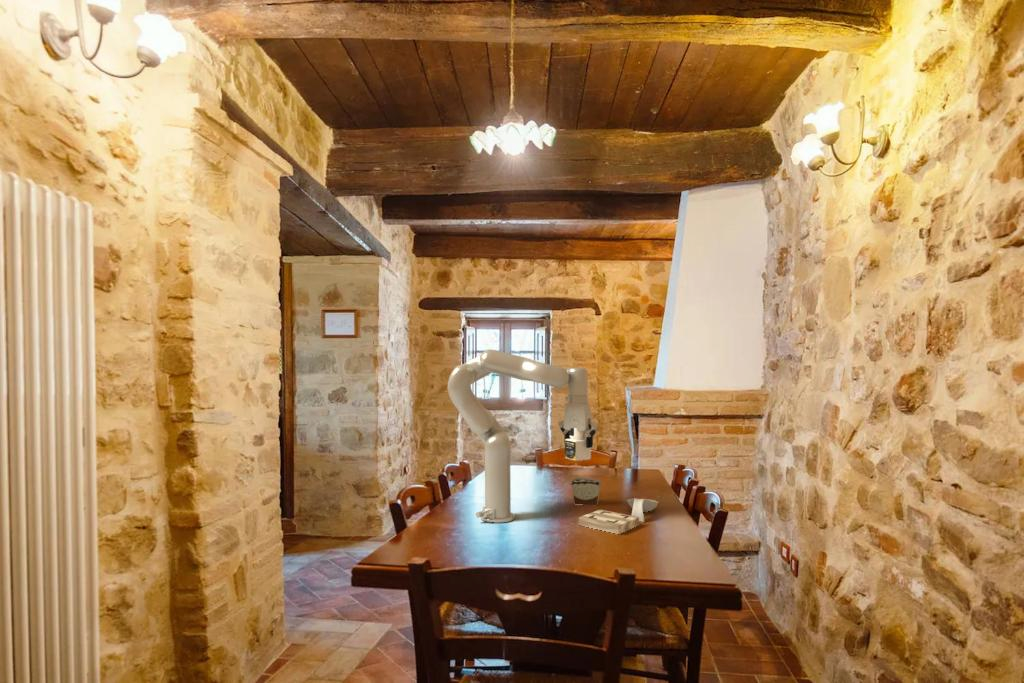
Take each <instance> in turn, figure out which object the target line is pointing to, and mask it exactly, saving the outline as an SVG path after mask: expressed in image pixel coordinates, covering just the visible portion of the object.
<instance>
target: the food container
mask: <svg viewBox="0 0 1024 683" xmlns="http://www.w3.org/2000/svg"><path fill="white" fill-rule="evenodd" d="M570 486H571V488H572V495H573V497H572V498H573V505H574V504H583V505H598V504H599V495H600V494H599V493H600V487H602V483H601V480H599V479H596V478H594V477H593V478H591V477H579V478H578V477H576V478H573V479H571V481H570ZM598 506H599V505H598Z"/></svg>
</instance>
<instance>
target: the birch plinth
mask: <svg viewBox="0 0 1024 683" xmlns="http://www.w3.org/2000/svg"><path fill="white" fill-rule="evenodd" d="M631 515H632V514H630V515H629V514H625V513H621V512H615V511H609V510H606V509H597V510H595V511H592V512H589V513H586V514H584V515H582V516H579V517H578V526H579V525H581V526H580V527H582V526H585V527H584V528H586V527H589V528H588V529H591V528H593V529H592V530H595V529H598V530H597V531H599V530H602V531H601V532H604V531H606V532H605V533H608V532H611V533H610V534H613V533H615V534H614V535H617V534H619V535H621V533H622V534H624V533H626V532H628V531H631V530H633V529H635V528H637V527H636V526H638V525H639V526H640V522H639V517H636V516H631ZM639 526H638V527H639ZM634 527H635V528H634ZM632 528H633V529H632ZM630 529H631V530H630ZM625 531H626V532H625ZM623 532H624V533H623Z"/></svg>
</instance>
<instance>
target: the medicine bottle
mask: <svg viewBox="0 0 1024 683" xmlns="http://www.w3.org/2000/svg"><path fill="white" fill-rule="evenodd" d="M570 437H571V439H565V438H564V458H565V459H567V460H572V461H578V462H579V461H586V460H587V461H588V460H591V459H592V447H591V448H587V447H586V437H587V434H586V433H585V431H578V430H577V429H576V428H571V429H570Z"/></svg>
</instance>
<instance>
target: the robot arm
mask: <svg viewBox="0 0 1024 683" xmlns="http://www.w3.org/2000/svg"><path fill="white" fill-rule="evenodd" d="M490 374H496V375H500V376H504V377H509V378H511V379H512V378H513V379H517V380H520V381H525V382H526V381H529V382H533V383H536V384H537V383H538V384H542V385H546V386H550V387H554V388H557V389H559V388H564V387H566V386H567V396H565V401H567V403H565V407H564V412H563V420H562V421H559V422H558V426H559V428H560V431H561V432H562V434H563V436H564V440H565V439H571V437H570V429H571V428H576V429H577V430H578V431H585V433H586V438H585V439H586V447H587V448H591V449H592V448H593V444H594V443H593V442H594V440H593V437H594V436H595V435H596V434H597V432H598V429H599V427H600V426H599V424H598V423H596V422H594V421H593V419H592V410H591V405H590V403H589V394H588V392H589V389H588V388H589V386H588V384H589V383H588V382H589V381H588V370H587V368H586V367H570V368H568V367H562V366H561V367H560V366H557V365H554V364H553V365H552V364H549V363H544V362H541V361H537V360H533V359H531V358H527V357H524V356H521V355H516V354H512V353H508V352H505V351H504V352H503V351H500V350H495V349H486V350H484V351H483V352H482V353H481V354H479V355H477V356H475V357H474V358H472V359H470V360H468V361H466V362H464V363H462V364H459V365H457V366H455V367H454V369H452V371H451V373H450V375H449V377H448V381H447V393H448V395H449V396H448V397H449V398H450V401H451V402H452V404H453V405H454V407H455V408H456V410H457V411H458V413H459V414H460V416H461V417H462V419H463V420H464V421H465V423H466V425H467V426H468V427H469V429H470V430H471V432H472V433H473V434H476V435H477V437H478V438H479V440H481V443H483V445H484V506H483V508H482V510H481V511H477V512H475V517H476V518H480V519H481V521H484V522H487V523H492V522H494V523H495V524H496V523H497V524H501V523H508V522H511V521H514V520H515V518H516V517H515V516H516V515H515V514H514V513H512V512H511V454H512V453H511V452H512V451H511V450H512V448H511V441H510V438H509V435H508V434H507V432H506V431H505V429H504V428H503V427H502V426H501V424H500V423H499V421H498V420H497V419H496V417H495V416H494V415H493V413H492V412H491V411H490V410H489V409H487V408H485V407H484V406H483V404H482V403H481V401H479V398H478V397H477V396H476V395H475V393H474V391H473V390H472V386H471V385H472V384H474V383H476V382H478V381H479V380H481V379H483V378H486V377H487V376H490ZM494 523H493V524H494Z"/></svg>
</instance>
